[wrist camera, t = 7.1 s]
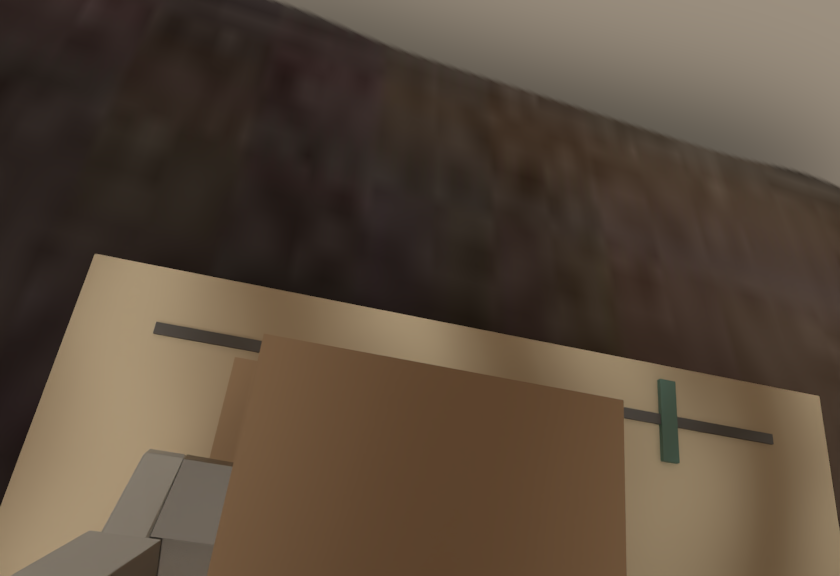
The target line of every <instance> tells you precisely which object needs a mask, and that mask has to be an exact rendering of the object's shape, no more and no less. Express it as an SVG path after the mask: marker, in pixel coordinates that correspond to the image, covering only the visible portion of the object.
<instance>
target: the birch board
mask: <svg viewBox="0 0 840 576" xmlns="http://www.w3.org/2000/svg"><path fill="white" fill-rule="evenodd" d="M264 334H269V335H274V336H280V337H285V338H291V339H296V340H301V341H307V342H312V343H318V344H323V345H328V346H334V347H339V348H345V349H350V350H355V351H361V352H366V353H372V354H377V355H382V356H388V357H393V358H399V359H404V360H410V361H415V362H420V363H426V364H431V365H436V366H442V367H447V368H453V369H458V370H463V371H469V372H474V373H480V374H485V375H491V376H496V377H501V378H507V379H512V380H518V381H523V382H528V383H534V384H539V385H545V386H550V387H555V388H561V389H566V390H572V391H577V392H582V393H588V394H593V395H599V396H604V397H609V398H615V399H620V400H624V455H625V511H626V566H627V576H840V530H839V523H838V517H837V510H836V503H835V497H834V490H833V484H832V477H831V470H830V464H829V457H828V450H827V444H826V437H825V431H824V424H823V417H822V411H821V404H820V397H819V396H816V395H811V394H806V393H801V392H796V391H790V390H785V389H780V388H775V387H770V386H765V385H760V384H755V383H750V382H745V381H740V380H735V379H729V378H724V377H719V376H714V375H709V374H704V373H699V372H694V371H689V370H684V369H679V368H674V367H669V366H663V365H658V364H653V363H648V362H643V361H638V360H633V359H628V358H623V357H618V356H613V355H608V354H602V353H597V352H592V351H587V350H582V349H577V348H572V347H567V346H562V345H557V344H552V343H547V342H542V341H536V340H531V339H526V338H521V337H516V336H511V335H506V334H501V333H496V332H491V331H486V330H481V329H475V328H470V327H465V326H460V325H455V324H450V323H445V322H440V321H435V320H430V319H425V318H420V317H415V316H409V315H404V314H399V313H394V312H389V311H384V310H379V309H374V308H369V307H364V306H359V305H354V304H348V303H343V302H338V301H333V300H328V299H323V298H318V297H313V296H308V295H303V294H298V293H293V292H287V291H282V290H277V289H272V288H267V287H262V286H257V285H252V284H247V283H242V282H237V281H232V280H227V279H221V278H216V277H211V276H206V275H201V274H196V273H191V272H186V271H181V270H176V269H171V268H166V267H160V266H155V265H150V264H145V263H140V262H135V261H130V260H125V259H120V258H115V257H110V256H105V255H100V254H95V255H94V257H93V260H92V263H91V265H90V268H89V271H88V273H87V276H86V279H85V281H84V284H83V287H82V289H81V292H80V295H79V298H78V300H77V303H76V306H75V308H74V311H73V314H72V316H71V319H70V322H69V324H68V327H67V330H66V332H65V335H64V338H63V340H62V343H61V346H60V348H59V351H58V354H57V356H56V359H55V362H54V364H53V367H52V370H51V373H50V375H49V378H48V381H47V383H46V386H45V389H44V391H43V394H42V397H41V399H40V402H39V405H38V407H37V410H36V413H35V415H34V418H33V421H32V423H31V426H30V429H29V431H28V434H27V437H26V439H25V442H24V445H23V447H22V450H21V453H20V456H19V458H18V461H17V464H16V466H15V469H14V472H13V474H12V477H11V480H10V482H9V485H8V488H7V490H6V493H5V496H4V498H3V501H2V504H1V506H0V576H11V575H13V574H14V573H16V572H18V571H20V570H21V569H23V568H25V567H26V566H28V565H30V564H32V563H33V562H35V561H37V560H39V559H40V558H42V557H44V556H46V555H47V554H49V553H51V552H53V551H54V550H56V549H58V548H60V547H61V546H63V545H65V544H67V543H68V542H70V541H72V540H74V539H75V538H77V537H79V536H81V535H82V534H84V533H86V532H88V531H98V532H102V530H103V528H104V526H105V524H106V522H107V521H108V519H109V517H110V515H111V513H112V511H113V510H114V508H115V506H116V504H117V502H118V500H119V498H120V497H121V495H122V493H123V491H124V489H125V487H126V486H127V484H128V482H129V480H130V478H131V476H132V475H133V473H134V471H135V469H136V467H137V465H138V463H139V462H140V460H141V458H142V456H143V454H145V453H146V452H147V451H148V450H149V449H155V450H161V451H168V452H174V453H180V454H184V455H186V456H187V454H188V455H194V456H199V457H205V458H210V454H211V450H212V446H213V442H214V438H215V434H216V430H217V426H218V422H219V418H220V414H221V410H222V406H223V403H224V399H225V395H226V391H227V387H228V383H229V379H230V375H231V371H232V367H233V363H234V359H235V357H238V358H244V359H249V360H255V361H258V357H259V352H260V348H261V344H262V340H263V335H264Z"/></svg>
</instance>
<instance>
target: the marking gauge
mask: <svg viewBox="0 0 840 576" xmlns="http://www.w3.org/2000/svg"><path fill="white" fill-rule="evenodd" d="M210 458H211V459H217V460H222V461H228V462H234V463H233V467H232V471H231V475H230V480H229V484H228V488H227V492H226V497H225V501H224V505H223V509H222V514H221V518H220V522H219V526H218V530H217V535H216V539H215V543H214V547H213V552H212V556H211V560H210V564H209V569H208V573H207V576H627V566H626V511H625V455H624V400H620V399H615V398H609V397H604V396H599V395H593V394H588V393H582V392H577V391H572V390H566V389H561V388H555V387H550V386H545V385H539V384H534V383H528V382H523V381H518V380H512V379H507V378H501V377H496V376H491V375H485V374H480V373H474V372H469V371H463V370H458V369H453V368H447V367H442V366H436V365H431V364H426V363H420V362H415V361H410V360H404V359H399V358H393V357H388V356H382V355H377V354H372V353H366V352H361V351H355V350H350V349H345V348H339V347H334V346H328V345H323V344H318V343H312V342H307V341H301V340H296V339H291V338H285V337H280V336H274V335H269V334H264V335H263V340H262V344H261V348H260V352H259V357H258V361H255V360H249V359H244V358H238V357H235V359H234V363H233V367H232V371H231V375H230V379H229V383H228V387H227V391H226V395H225V399H224V403H223V406H222V410H221V414H220V418H219V422H218V426H217V430H216V434H215V438H214V442H213V446H212V450H211V454H210Z"/></svg>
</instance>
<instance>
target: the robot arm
mask: <svg viewBox="0 0 840 576" xmlns="http://www.w3.org/2000/svg"><path fill="white" fill-rule="evenodd" d="M233 463H234V462H228V461H222V460H217V459H211V458H205V457H199V456H194V455H188V454H187V456H186V455H184V454H180V453H174V452H168V451H161V450H155V449H149V450H148V451H147V452H146V453H145V454H143V456H142V458H141V460H140V462H139V463H138V465H137V467H136V469H135V471H134V473H133V475H132V476H131V478H130V480H129V482H128V484H127V486H126V487H125V489H124V491H123V493H122V495H121V497H120V498H119V500H118V502H117V504H116V506H115V508H114V510H113V511H112V513H111V515H110V517H109V519H108V521H107V522H106V524H105V526H104V528H103V530H102V532H98V531H88V532H86V533H84V534H82V535H81V536H79V537H77V538H75V539H74V540H72V541H70V542H68V543H67V544H65V545H63V546H61V547H60V548H58V549H56V550H54V551H53V552H51V553H49V554H47V555H46V556H44V557H42V558H40V559H39V560H37V561H35V562H33V563H32V564H30V565H28V566H26V567H25V568H23V569H21V570H20V571H18V572H16V573H14V574H13V575H11V576H207V573H208V569H209V564H210V560H211V556H212V552H213V547H214V543H215V539H216V535H217V530H218V526H219V522H220V518H221V514H222V509H223V505H224V501H225V497H226V492H227V488H228V484H229V480H230V475H231V471H232V467H233Z"/></svg>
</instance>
